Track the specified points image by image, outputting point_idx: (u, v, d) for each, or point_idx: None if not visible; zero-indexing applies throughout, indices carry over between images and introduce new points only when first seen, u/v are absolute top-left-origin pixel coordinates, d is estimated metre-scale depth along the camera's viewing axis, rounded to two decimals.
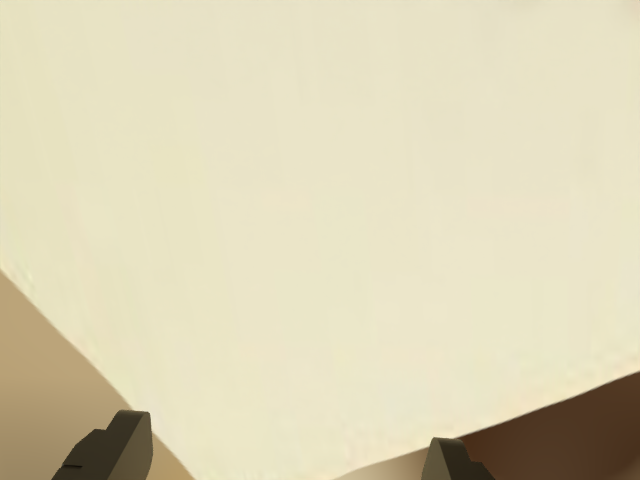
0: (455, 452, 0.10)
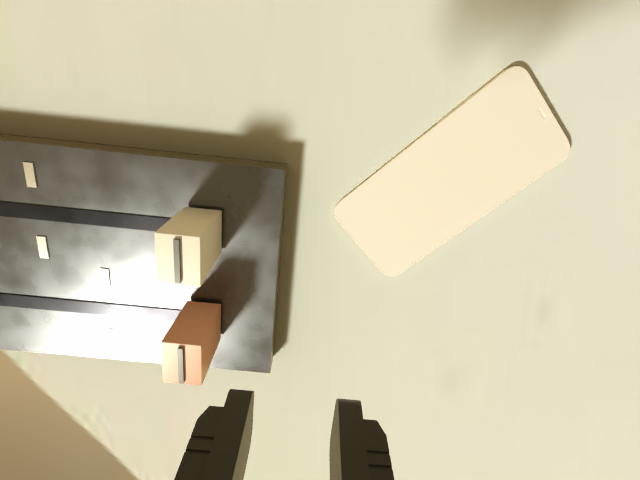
0: (350, 410, 0.11)
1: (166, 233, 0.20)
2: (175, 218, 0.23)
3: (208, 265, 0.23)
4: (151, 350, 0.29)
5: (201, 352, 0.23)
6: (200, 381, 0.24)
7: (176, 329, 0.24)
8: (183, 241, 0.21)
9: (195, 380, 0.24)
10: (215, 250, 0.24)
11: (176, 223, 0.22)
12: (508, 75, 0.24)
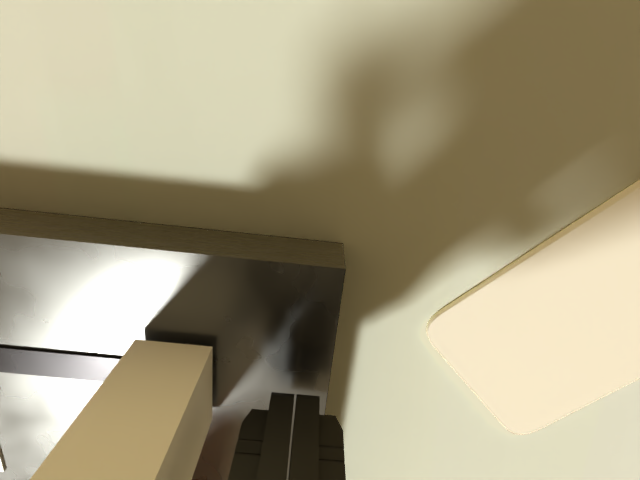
0: (308, 405, 0.11)
1: None
2: (102, 397, 0.10)
3: None
4: None
5: None
6: None
7: None
8: None
9: None
10: (197, 439, 0.11)
11: (100, 422, 0.09)
12: None
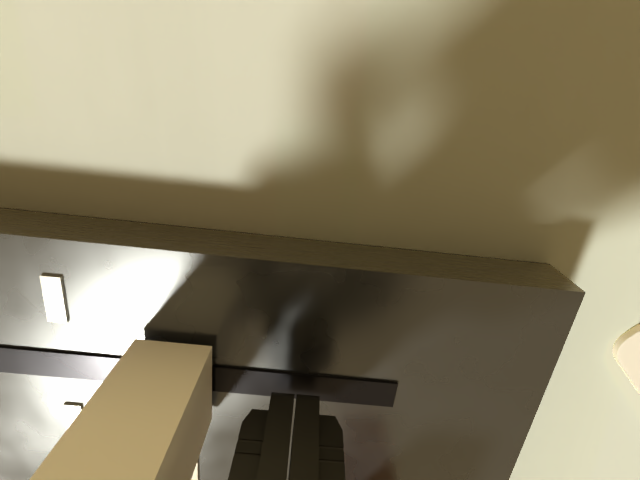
0: (308, 405, 0.11)
1: None
2: (101, 396, 0.10)
3: None
4: None
5: None
6: None
7: None
8: None
9: None
10: (197, 438, 0.11)
11: (100, 422, 0.09)
12: None
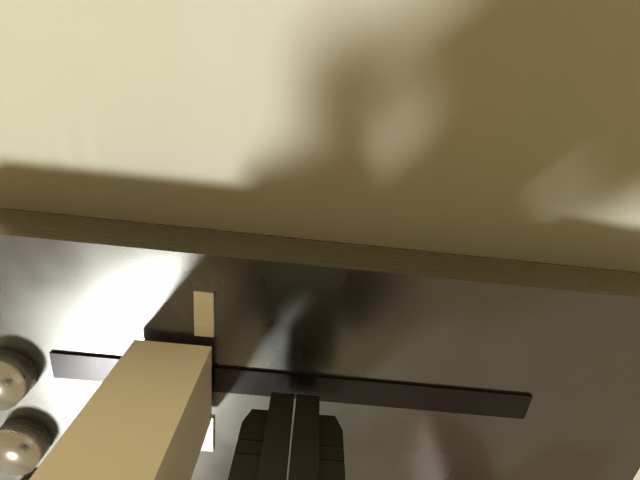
0: (308, 405, 0.11)
1: None
2: (100, 397, 0.10)
3: None
4: None
5: None
6: None
7: None
8: None
9: None
10: (197, 439, 0.11)
11: (99, 422, 0.09)
12: None
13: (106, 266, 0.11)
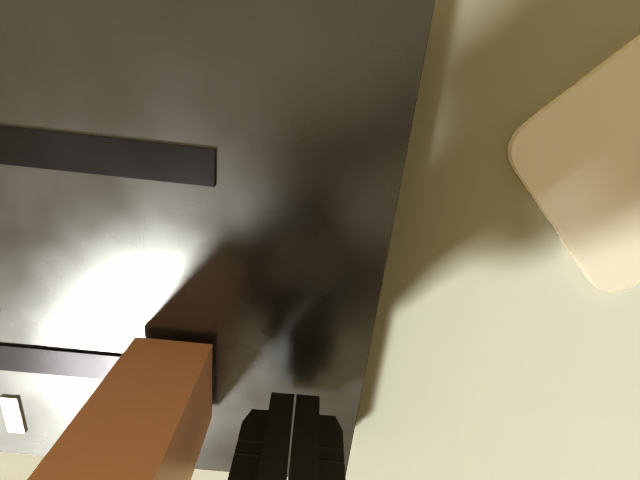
0: (308, 405, 0.11)
1: None
2: None
3: None
4: None
5: None
6: None
7: (87, 428, 0.09)
8: None
9: None
10: None
11: None
12: None
13: None
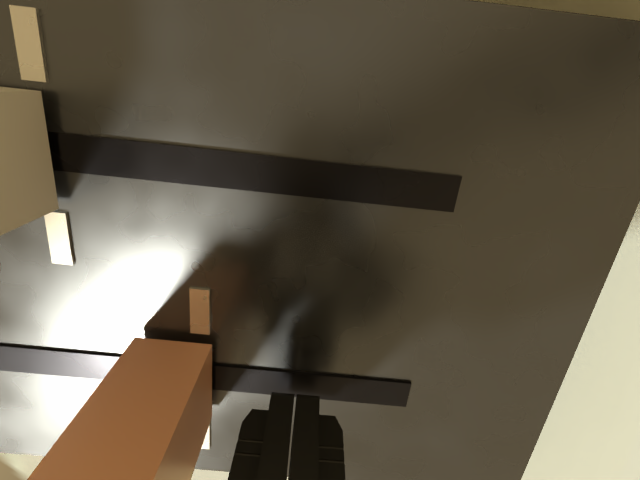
0: (308, 405, 0.11)
1: None
2: None
3: None
4: None
5: None
6: None
7: (86, 429, 0.09)
8: None
9: None
10: (9, 193, 0.09)
11: None
12: None
13: None
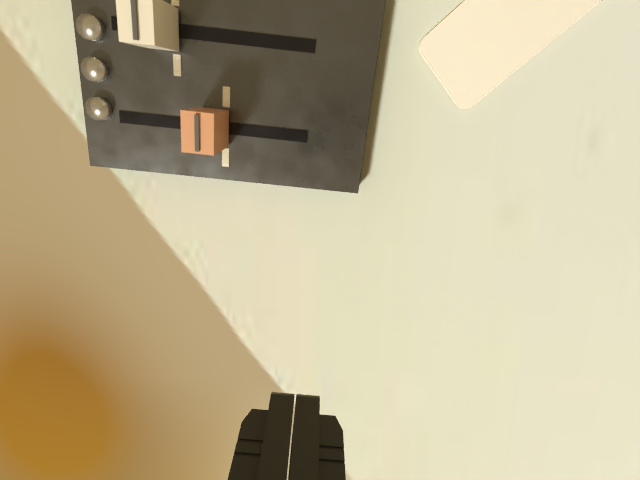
0: (308, 405, 0.11)
1: None
2: None
3: (163, 39, 0.27)
4: (258, 169, 0.34)
5: (214, 121, 0.28)
6: (212, 151, 0.29)
7: (192, 109, 0.29)
8: None
9: (208, 150, 0.29)
10: (171, 37, 0.29)
11: None
12: None
13: None
